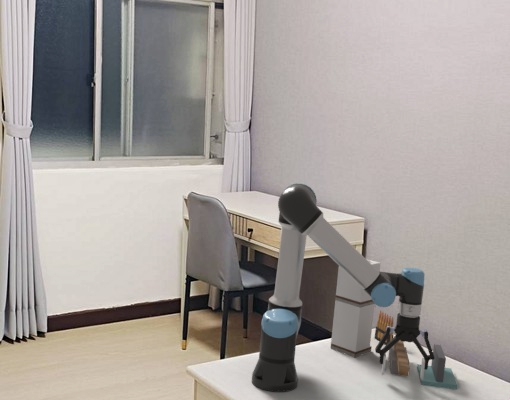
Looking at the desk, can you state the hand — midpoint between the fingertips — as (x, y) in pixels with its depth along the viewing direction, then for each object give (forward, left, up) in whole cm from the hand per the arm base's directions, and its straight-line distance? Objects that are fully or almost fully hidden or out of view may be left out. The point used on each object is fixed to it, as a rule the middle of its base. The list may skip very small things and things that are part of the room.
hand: (402, 375), depth 238 cm
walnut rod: (0, +11, +2) cm, 11 cm away
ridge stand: (+13, +10, -3) cm, 17 cm away
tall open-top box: (-17, +29, -3) cm, 34 cm away
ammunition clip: (-4, +43, -3) cm, 43 cm away
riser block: (0, +17, -3) cm, 17 cm away
